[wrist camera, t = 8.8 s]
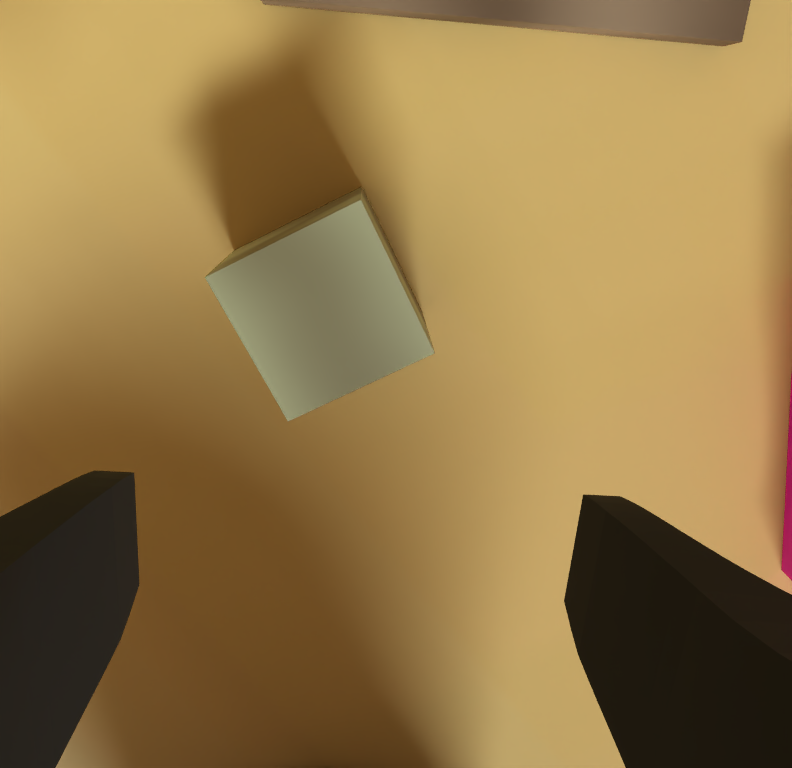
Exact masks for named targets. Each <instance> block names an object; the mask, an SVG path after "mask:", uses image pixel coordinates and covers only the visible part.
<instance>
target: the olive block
mask: <svg viewBox="0 0 792 768" xmlns="http://www.w3.org/2000/svg"><path fill="white" fill-rule="evenodd" d="M205 278H206V280H207V282H208V284H209V285H210V287H211V289H212V290H213V292H214V294H215V296H216V297H217V299H218V301H219V303H220V304H221V306H222V308H223V310H224V311H225V313H226V315H227V317H228V318H229V320H230V322H231V323H232V325H233V327H234V329H235V330H236V332H237V334H238V336H239V337H240V339H241V341H242V343H243V344H244V346H245V348H246V350H247V351H248V353H249V355H250V356H251V358H252V360H253V362H254V363H255V365H256V367H257V369H258V370H259V372H260V374H261V376H262V377H263V379H264V381H265V382H266V384H267V386H268V388H269V389H270V391H271V393H272V395H273V396H274V398H275V400H276V402H277V403H278V405H279V407H280V409H281V410H282V412H283V414H284V415H285V417H286V419H287V421H290V420H292V419H295V418H297V417H299V416H301V415H303V414H305V413H307V412H310V411H312V410H314V409H316V408H318V407H320V406H322V405H325V404H327V403H329V402H331V401H333V400H335V399H338V398H340V397H342V396H344V395H346V394H348V393H350V392H353V391H355V390H357V389H359V388H361V387H363V386H365V385H368V384H370V383H372V382H374V381H376V380H378V379H380V378H383V377H385V376H387V375H389V374H391V373H393V372H395V371H398V370H400V369H402V368H404V367H406V366H408V365H411V364H413V363H415V362H417V361H419V360H421V359H423V358H426V357H428V356H430V355H432V354H434V353H435V352H434V349H433V346H432V342H431V339H430V336H429V332H428V329H427V326H426V323H425V319H424V316H423V313H422V311H421V309H420V307H419V305H418V303H417V301H416V299H415V296H414V294H413V292H412V290H411V288H410V286H409V284H408V282H407V280H406V278H405V276H404V273H403V271H402V269H401V267H400V265H399V263H398V261H397V259H396V257H395V255H394V253H393V250H392V248H391V246H390V244H389V242H388V240H387V238H386V236H385V234H384V232H383V230H382V227H381V225H380V223H379V221H378V219H377V217H376V215H375V213H374V211H373V209H372V207H371V204H370V202H369V200H368V198H367V196H366V194H365V192H364V190H363V188H362V187H360V188H358V189H356V190H354V191H352V192H350V193H348V194H346V195H344V196H342V197H340V198H338V199H336V200H334V201H332V202H330V203H328V204H326V205H324V206H322V207H320V208H318V209H316V210H314V211H312V212H310V213H308V214H306V215H304V216H302V217H300V218H298V219H296V220H294V221H292V222H290V223H288V224H286V225H284V226H282V227H280V228H278V229H276V230H274V231H272V232H270V233H268V234H266V235H264V236H262V237H260V238H258V239H256V240H254V241H252V242H250V243H248V244H246V245H244V246H242V247H240V248H238V249H236V250H234V251H233V252H232V253H231V254H230V255H229V256H228V257H227V258H225V259H224V260H223V261H222V262H221V263H220V264H219V265H218V266H217V267H216V268H215V269H213V270H212V271H211V272H210V273H209V274H208V275H207V276H206V277H205Z"/></svg>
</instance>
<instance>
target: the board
mask: <svg viewBox="0 0 792 768" xmlns="http://www.w3.org/2000/svg"><path fill="white" fill-rule="evenodd" d="M261 1H262V2H263V4H267V5H278V6H289V7H299V8H310V9H321V10H332V11H343V12H354V13H365V14H376V15H387V16H398V17H409V18H420V19H431V20H442V21H453V22H464V23H475V24H486V25H496V26H507V27H518V28H529V29H540V30H551V31H562V32H573V33H584V34H595V35H606V36H617V37H628V38H639V39H650V40H661V41H672V42H682V43H693V44H704V45H715V46H726V45H731V44H735V43H739V42H742V39H743V34H744V30H745V25H746V20H747V15H748V11H749V6H750V1H751V0H261Z"/></svg>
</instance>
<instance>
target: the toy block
mask: <svg viewBox="0 0 792 768" xmlns="http://www.w3.org/2000/svg"><path fill="white" fill-rule="evenodd" d="M782 571H783V572H784V573H785V574H786V575H787V576H788V577H789V578H790V579H791V580H792V375H791V394H790V414H789V433H788V453H787V472H786V492H785V511H784V531H783V550H782Z"/></svg>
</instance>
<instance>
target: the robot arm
mask: <svg viewBox="0 0 792 768" xmlns="http://www.w3.org/2000/svg"><path fill="white" fill-rule="evenodd" d="M138 587H139V568H138V546H137V524H136V503H135V481H134V473H131V472H110V471H93V472H90V473H87V474H84V475H82V476H80V477H78V478H76V479H73V480H71V481H69V482H67V483H65V484H63V485H61V486H59V487H57V488H55V489H53V490H51V491H50V492H48V493H46V494H44V495H42V496H40V497H38V498H36V499H34V500H32V501H30V502H28V503H26V504H24V505H22V506H20V507H18V508H17V509H15V510H13V511H11V512H9V513H7V514H5V515H3V516H1V517H0V768H55V767H56V765H57V763H58V761H59V759H60V758H61V756H62V754H63V752H64V750H65V748H66V746H67V744H68V742H69V740H70V738H71V736H72V734H73V732H74V730H75V728H76V726H77V724H78V722H79V720H80V719H81V717H82V715H83V713H84V711H85V709H86V707H87V705H88V703H89V701H90V699H91V697H92V695H93V693H94V691H95V689H96V687H97V685H98V683H99V681H100V680H101V678H102V676H103V674H104V672H105V670H106V668H107V666H108V664H109V662H110V660H111V658H112V656H113V654H114V652H115V650H116V647H117V645H118V643H119V641H120V639H121V636H122V634H123V631H124V628H125V625H126V623H127V620H128V617H129V614H130V611H131V608H132V605H133V602H134V599H135V596H136V593H137V590H138ZM564 602H565V606H566V610H567V614H568V618H569V623H570V627H571V631H572V634H573V638H574V641H575V645H576V648H577V652H578V655H579V658H580V660H581V663H582V665H583V668H584V670H585V673H586V675H587V677H588V680H589V682H590V685H591V687H592V689H593V692H594V694H595V697H596V699H597V701H598V704H599V706H600V708H601V711H602V713H603V715H604V718H605V720H606V722H607V725H608V727H609V729H610V732H611V734H612V736H613V739H614V741H615V743H616V746H617V748H618V750H619V753H620V755H621V757H622V760H623V762H624V764H625V767H626V768H792V595H791V594H789V593H787V592H785V591H783V590H781V589H779V588H777V587H776V586H774V585H772V584H770V583H768V582H766V581H765V580H763V579H761V578H759V577H757V576H756V575H754V574H752V573H750V572H748V571H746V570H745V569H743V568H741V567H739V566H738V565H736V564H734V563H733V562H731V561H729V560H727V559H726V558H724V557H722V556H721V555H719V554H717V553H716V552H714V551H712V550H711V549H709V548H707V547H706V546H704V545H702V544H701V543H699V542H698V541H696V540H694V539H693V538H691V537H689V536H688V535H686V534H685V533H683V532H681V531H680V530H678V529H677V528H675V527H673V526H672V525H670V524H669V523H667V522H665V521H664V520H662V519H660V518H659V517H657V516H656V515H654V514H652V513H651V512H649V511H647V510H645V509H644V508H642V507H640V506H638V505H637V504H635V503H633V502H631V501H629V500H627V499H625V498H622V497H620V496H601V495H583V499H582V505H581V510H580V516H579V521H578V527H577V532H576V538H575V543H574V549H573V555H572V560H571V566H570V571H569V577H568V582H567V588H566V594H565V599H564Z"/></svg>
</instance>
